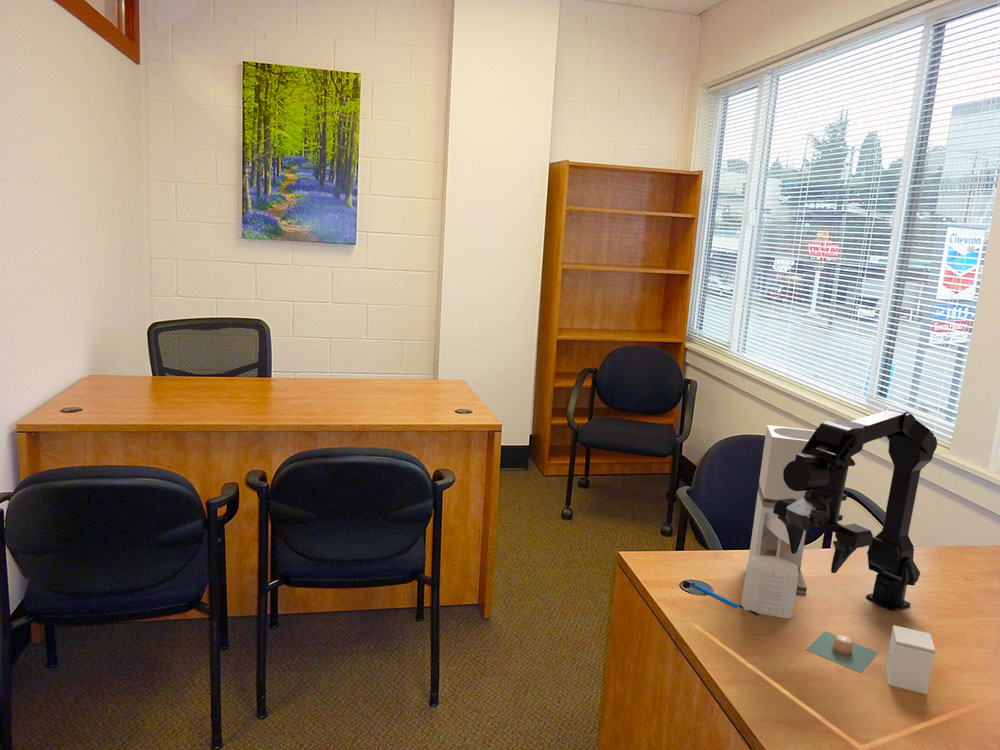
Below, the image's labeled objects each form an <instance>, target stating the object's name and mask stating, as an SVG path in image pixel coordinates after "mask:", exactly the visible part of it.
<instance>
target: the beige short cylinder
mask: <svg viewBox="0 0 1000 750" xmlns="http://www.w3.org/2000/svg"><path fill="white" fill-rule="evenodd" d="M834 635H835V636H834V642H833V648H832V649H833V651H834V652H836V653H837V654H839V655H843V656H850V655H852V651H853V645H854V643H855V640H854V639H853V638H851V637H850V636H847V635H844V634H834Z"/></svg>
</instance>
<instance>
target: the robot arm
mask: <svg viewBox="0 0 1000 750" xmlns="http://www.w3.org/2000/svg"><path fill="white" fill-rule="evenodd" d="M815 430H816V431H815V432H814V434H813V435H812V437H811V438H810V439H809V441H808V442H807V444H806V445H805V447H804V448H803V450H802V453H803V454H806V455H802V454H797V455H796V458H795V461H791V462H789V463H788V464H787V465H786V467H785V468H784V471H783V478H784V481H785V483H786V485H787V486H788V487H789V488H790V489H791V490H793V491H806V492H805V496H804V498H803V499H801V500H796V499H793V498H790V499H781V500H778V501H777V502H776V503H775V504H774V508H773V513H775V514H777V515H779V516H778V519H780V520H781V521H782V522H783V523H784V524H785V526H786V529H787V532H788V537H789V542H790V548H791V553H792V554H796V553H797V550H798V548H799V545H800V542H801V539H802V535H803V532H804V530H806V531H808V530H811V529H812V528H813V527H814V526H815V527H817V528H821V527H822V528H824V529H825V530H828V531H831V532H833V533H835V535H834V537H835V539H836V540H832V544H833V546H834V552H833V558H832V561H831V567H830V573H831V574H836V573H837V572H838V571H839V569H840V568H841V567H842V566H843V564H845V562H846V561H847V559H848V558H849V557H850V556H851V555H852V554H853V553H854V551H856V550H857V549H858V548H864V547H867V546H868V549H867V552H866V555H867V565H868V570H870V571H873V572H875V573H876V576H875V582H874V585H873V590H872V593H869V594H866V597H865V598H867V599H868V600H871V601H873V602H874V603H876V604H878V605H880V606H882V607H884V608H886V609H888V610H889V611H895V610H900V609H903V608H907V607H911V603H910V602H908V601H907V600H905V598H906V593H907V587H908V586H916V583H918V581H919V579H920V575H921V572H920V570H919V568H918V566H917V565H916V563H915V561H914V555H915V554H914V553H915V548H914V546H913V543H912V541H911V538H910V537H909V532H910V527H911V522H912V517H913V511H914V506H915V501H916V496H917V490H918V487H919V486H918V485H919V480H920V475H921V471H922V470H923V469H924V468H925V467H926V466H927V465H928V464H929V463H930V462H931V461H932V460H933V456H934V453H935V451H936V450H937V447H938V440H937V437H936V436H935V434H934V432H933V431H931V430H930V428H928V427H926V425H924V424H923V423H921V422H920V421H918V420H917V419H916V418H915V416H914V415H913V413H911V412H910V411H907V410H902V409H898V408H894V407H887V408H885V409H884V410H882V411H880V412H877V413H873V414H870V415H868V416H867V415H866V416H864V417H861V418H857V419H854V420H851V421H849V420H848V421H847V420H835V419H834V420H825V421H822V422H821V423H820V424H819V425H818V426H817V428H816V429H815ZM882 438H886V439H887V440H888V450H887V451H888V455H889V457H890V459H891V462H892V463H893V464H892V465H893V470H892V471H893V472H892V476H891V480H890V481H891V482H890V486H889V487H890V488H889V492H888V498H887V503H886V509H885V515H884V519H883V520H884V521H883V524H882V530H881V531H880V532H879V533H877V534H876V535H875V536H874V535H873V533H872V530H871V529H868V528H866V527H864V526H861V525H858V524H856V523H850V524H845V525H844V524H841V523H839V522H841V521H843V518H844V515H843V514H840V511H841V507H842V502H844V501H847V498H848V495H847V494H845V493H844V491H845V486H846V481H847V477H848V472H849V467H854V466H855V465H856V462H855V460H854V459H853V458H852V457H853V456H854V455H857V454H858V453H860V452H861V451H863V448H864V445H865V444H867V443H871V442H873V441H875V440H878V439H882ZM817 448H819V449H821V450H819V449H817ZM822 450H824V451H822ZM825 451H827V452H825Z"/></svg>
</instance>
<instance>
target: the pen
mask: <svg viewBox="0 0 1000 750" xmlns="http://www.w3.org/2000/svg"><path fill="white" fill-rule="evenodd" d="M691 583H692V584H693V585H694V586H696V587H697V588H699V589H700V590H699V589H698V590H699V591H701V590H702V591H701V592H703V591H704V592H703V593H705V592H706V593H705V594H707V595H709V596H712V597H714V598H715V599H717V600H720V601H721V602H723V603H725V604H728V605H729V606H731V607H734V608H735V609H738V608H742V609H743V607H742V606H741V604H738V603H735V602H733V601H732V600H729V599H727V598H725V597H723V596H721V595H719V594H717V593H715V592H713V591H711V590H709V589H707V588H705V587H703V586H701V585H699V584H698V583H694V582H691ZM697 588H696V589H697ZM747 612H750V613H752V614H754V615H756V616H758V617H759V616H760V613H756V612H753V611H751V610H748V611H747Z"/></svg>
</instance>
